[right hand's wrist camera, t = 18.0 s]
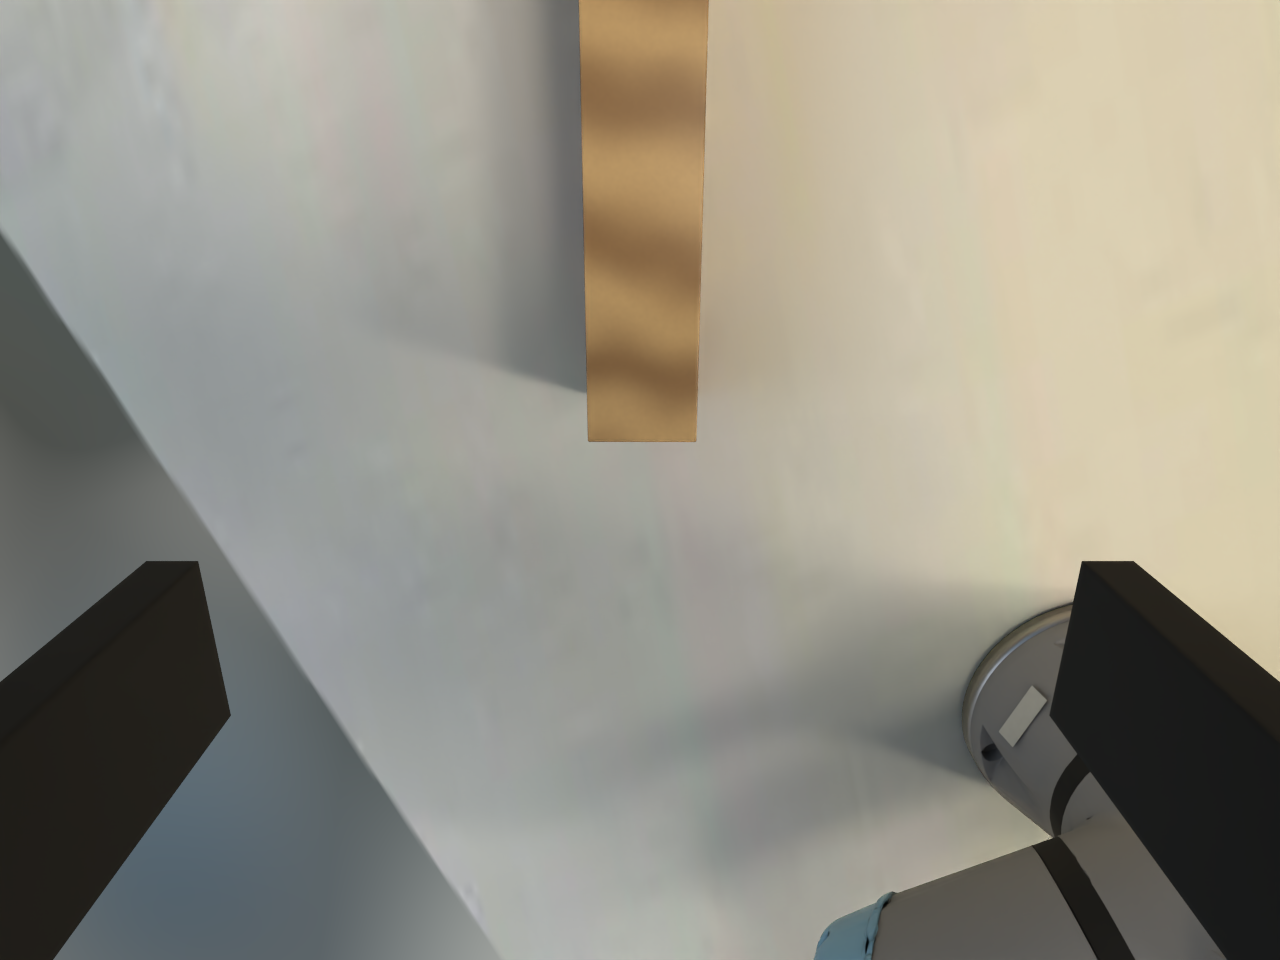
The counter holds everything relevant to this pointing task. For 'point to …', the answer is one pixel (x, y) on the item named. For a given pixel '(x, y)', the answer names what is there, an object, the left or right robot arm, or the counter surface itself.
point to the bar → (642, 214)
